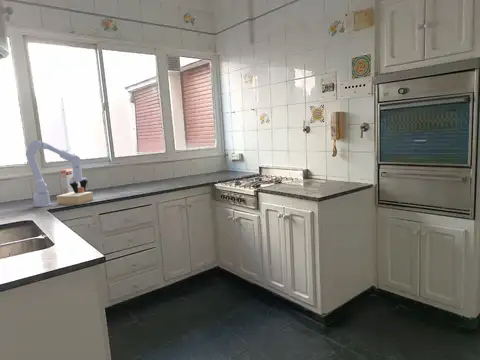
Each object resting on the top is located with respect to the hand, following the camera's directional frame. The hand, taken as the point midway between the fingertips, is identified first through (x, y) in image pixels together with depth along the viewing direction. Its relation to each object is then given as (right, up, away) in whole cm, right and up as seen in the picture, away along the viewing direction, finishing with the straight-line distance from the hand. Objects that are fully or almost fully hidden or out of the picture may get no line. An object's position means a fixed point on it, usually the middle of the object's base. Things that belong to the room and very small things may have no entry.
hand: (80, 191), depth 236 cm
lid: (-1, -2, -5) cm, 5 cm away
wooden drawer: (-1, -7, -4) cm, 8 cm away
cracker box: (-16, -4, +22) cm, 28 cm away
